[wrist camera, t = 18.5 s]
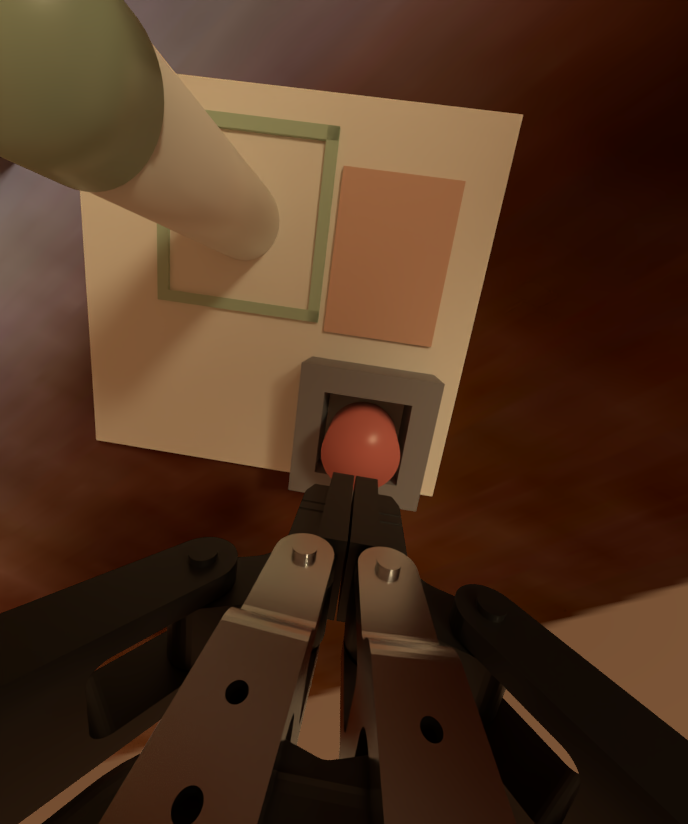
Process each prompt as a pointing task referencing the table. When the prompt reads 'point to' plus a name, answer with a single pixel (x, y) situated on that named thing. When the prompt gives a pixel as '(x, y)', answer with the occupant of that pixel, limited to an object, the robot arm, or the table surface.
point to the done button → (361, 443)
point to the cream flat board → (304, 286)
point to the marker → (123, 124)
